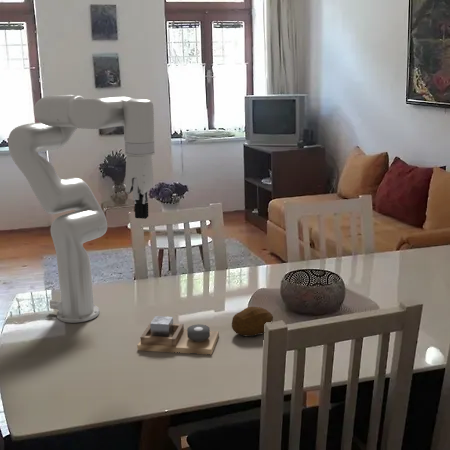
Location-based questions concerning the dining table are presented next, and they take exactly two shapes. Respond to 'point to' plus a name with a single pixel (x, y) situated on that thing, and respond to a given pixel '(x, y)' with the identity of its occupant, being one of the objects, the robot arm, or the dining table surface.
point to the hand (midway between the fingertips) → (141, 217)
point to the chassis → (177, 342)
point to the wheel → (198, 332)
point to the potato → (251, 321)
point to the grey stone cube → (162, 326)
